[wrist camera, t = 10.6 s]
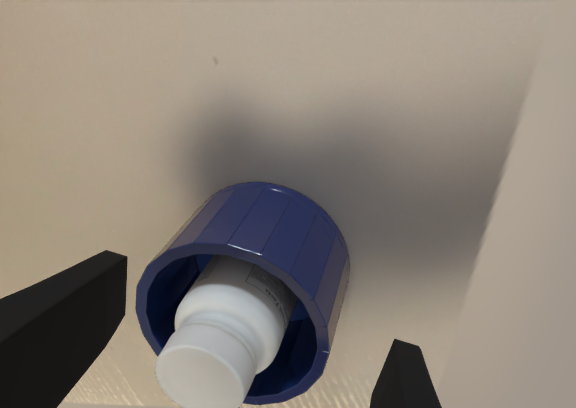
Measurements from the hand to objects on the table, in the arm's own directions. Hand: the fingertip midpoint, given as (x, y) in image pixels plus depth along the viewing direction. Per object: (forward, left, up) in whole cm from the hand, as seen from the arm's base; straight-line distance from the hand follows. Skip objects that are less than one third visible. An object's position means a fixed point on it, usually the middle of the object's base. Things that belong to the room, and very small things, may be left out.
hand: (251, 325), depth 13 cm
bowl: (+2, +5, -10) cm, 12 cm away
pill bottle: (+2, +5, -10) cm, 11 cm away
